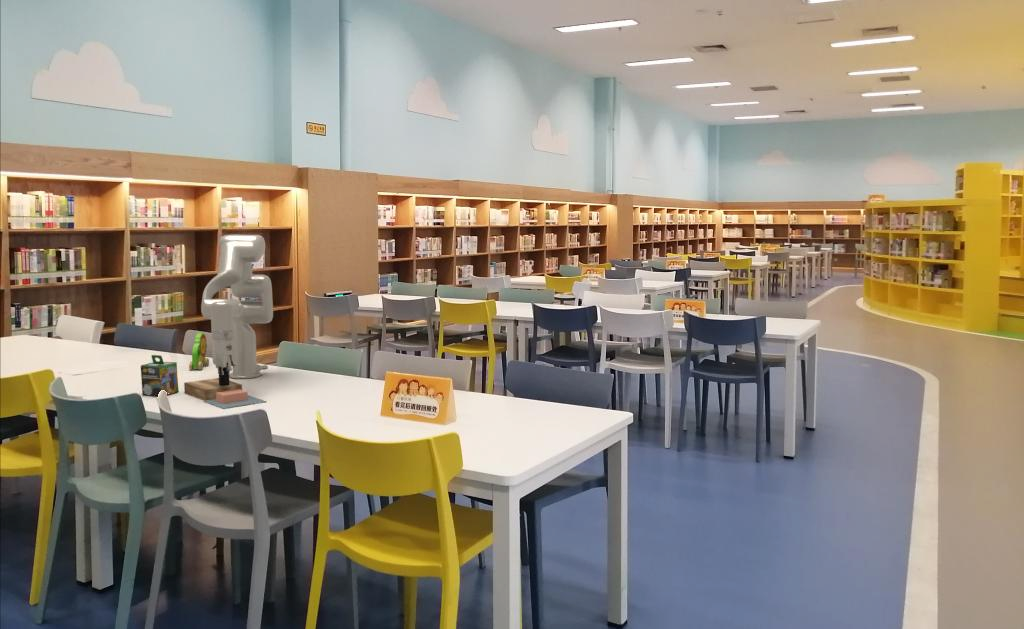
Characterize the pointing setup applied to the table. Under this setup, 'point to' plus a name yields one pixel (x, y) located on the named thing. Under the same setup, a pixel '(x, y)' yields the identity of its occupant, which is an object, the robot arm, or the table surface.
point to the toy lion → (199, 353)
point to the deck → (208, 388)
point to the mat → (234, 404)
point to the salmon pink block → (231, 396)
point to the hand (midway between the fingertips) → (224, 385)
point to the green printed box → (159, 377)
